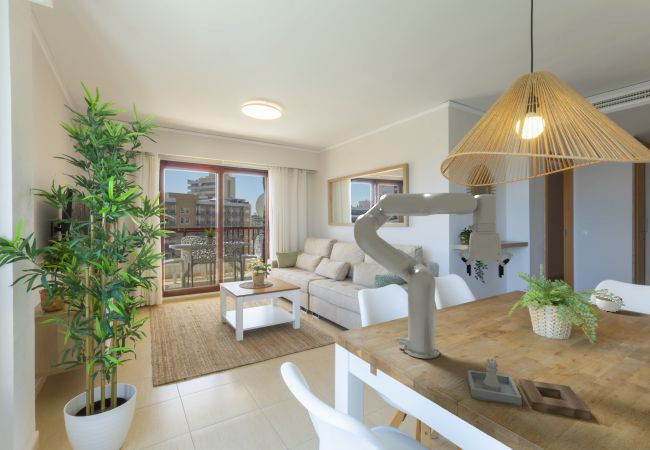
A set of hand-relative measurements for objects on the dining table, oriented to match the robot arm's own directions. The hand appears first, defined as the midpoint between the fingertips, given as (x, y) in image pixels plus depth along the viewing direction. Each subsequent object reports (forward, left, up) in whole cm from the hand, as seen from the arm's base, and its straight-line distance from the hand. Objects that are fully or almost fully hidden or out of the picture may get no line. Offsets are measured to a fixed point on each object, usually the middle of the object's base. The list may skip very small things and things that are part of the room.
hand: (484, 276), depth 107 cm
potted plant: (+72, +86, -29) cm, 116 cm away
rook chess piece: (-2, -24, -28) cm, 37 cm away
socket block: (+12, -24, -29) cm, 40 cm away
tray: (-2, -24, -29) cm, 38 cm away
